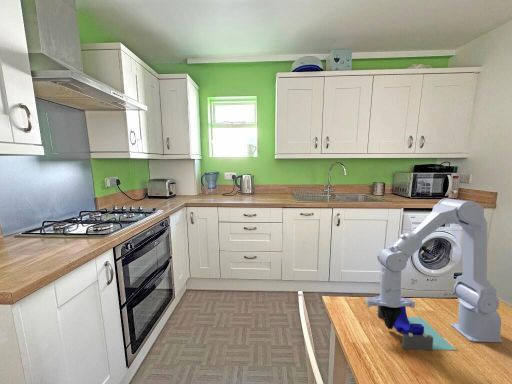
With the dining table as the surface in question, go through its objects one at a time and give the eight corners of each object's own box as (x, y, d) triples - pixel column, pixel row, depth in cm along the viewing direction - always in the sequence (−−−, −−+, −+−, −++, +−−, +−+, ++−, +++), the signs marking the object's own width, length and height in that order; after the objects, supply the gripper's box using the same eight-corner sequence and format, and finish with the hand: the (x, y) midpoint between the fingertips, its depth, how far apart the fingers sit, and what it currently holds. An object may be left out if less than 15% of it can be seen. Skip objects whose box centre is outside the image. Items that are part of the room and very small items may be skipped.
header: (400, 316, 81) (400, 304, 81) (432, 350, 65) (433, 335, 65) (377, 315, 82) (377, 303, 81) (403, 349, 66) (404, 334, 65)
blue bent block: (389, 319, 79) (389, 303, 79) (403, 320, 79) (403, 304, 78) (407, 345, 68) (407, 326, 67) (423, 346, 67) (424, 327, 66)
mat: (421, 317, 80) (421, 317, 80) (456, 350, 65) (456, 349, 65) (398, 317, 81) (398, 316, 81) (427, 349, 66) (427, 348, 66)
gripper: (405, 281, 76) (404, 319, 77) (362, 280, 77) (361, 318, 78) (419, 292, 69) (418, 334, 70) (371, 291, 70) (370, 332, 71)
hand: (388, 326), depth 74 cm, fingers closed
